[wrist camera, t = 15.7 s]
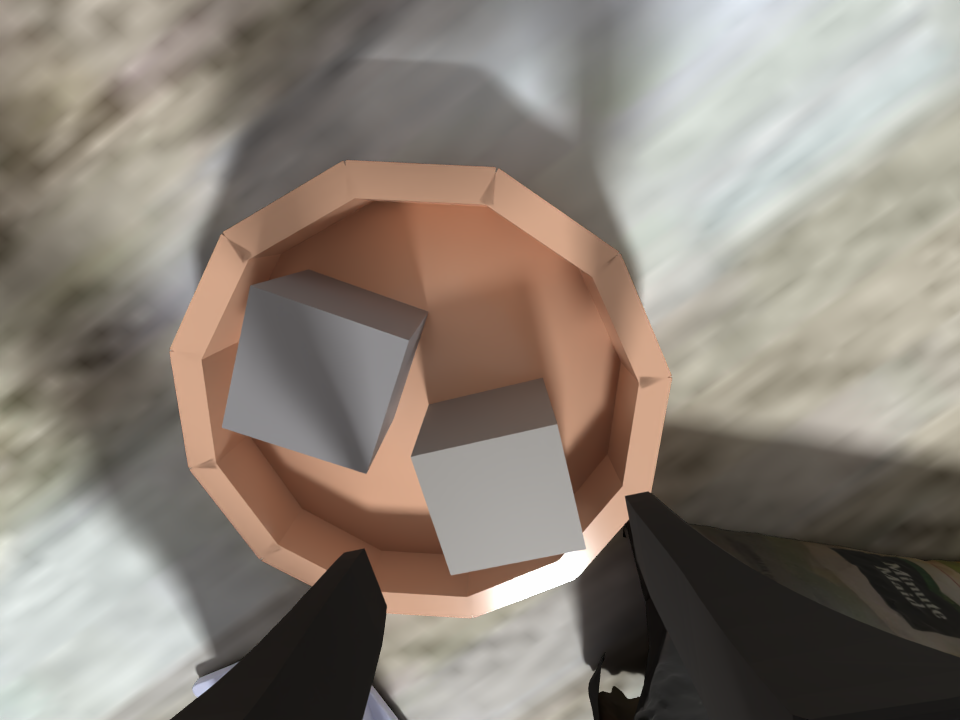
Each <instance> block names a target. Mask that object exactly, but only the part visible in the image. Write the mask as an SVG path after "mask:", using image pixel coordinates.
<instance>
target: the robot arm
mask: <svg viewBox="0 0 960 720" xmlns="http://www.w3.org/2000/svg"><path fill="white" fill-rule="evenodd" d="M625 500H626V506H627V511H628V516H629V522H630V527H631V532H632V537H633V543H634V548H635V553H636V559H637V562H638V565H639V567H640V570H641V573H642V575H643V578H644V581H645V584H646V586H647V589H648V592H649V594H650V597H651V599H652V601H653V603H654V605H655V607H656V609H657V611H658V613H659V615H660V617H661V619H662V621H663V623H664V625H665V627H666V629H667V631H668V633H669V635H670V637H671V639H672V641H673V643H674V645H675V647H676V649H677V651H678V653H679V655H680V657H681V659H682V661H683V663H684V665H685V667H686V669H687V671H688V673H689V675H690V677H691V679H692V681H693V683H694V685H695V688H696V690H697V692H698V694H699V696H700V699H701V701H702V703H703V705H704V707H705V710H706V712H707V715H708V717H709V720H960V657H957V656H954V655H951V654H948V653H945V652H942V651H939V650H936V649H934V648H931V647H928V646H925V645H922V644H919V643H916V642H913V641H910V640H907V639H904V638H901V637H898V636H896V635H893V634H890V633H888V632H885V631H883V630H880V629H878V628H875V627H873V626H870V625H868V624H865V623H863V622H860V621H858V620H855V619H853V618H851V617H848V616H846V615H844V614H841V613H839V612H837V611H835V610H832V609H830V608H828V607H826V606H824V605H822V604H819V603H817V602H815V601H813V600H811V599H809V598H807V597H805V596H803V595H801V594H798V593H796V592H795V591H793V590H791V589H789V588H787V587H785V586H783V585H781V584H779V583H777V582H776V581H774V580H772V579H770V578H768V577H767V576H765V575H763V574H761V573H760V572H758V571H756V570H754V569H753V568H751V567H750V566H748V565H746V564H745V563H743V562H742V561H740V560H738V559H737V558H735V557H734V556H732V555H731V554H729V553H728V552H726V551H725V550H723V549H722V548H720V547H719V546H718V545H716V544H715V543H713V542H712V541H711V540H709V539H708V538H706V537H705V536H704V535H702V534H701V533H700V532H698V531H697V530H696V529H694V528H693V527H692V526H690V525H689V524H688V523H687V522H685V521H684V520H683V519H682V518H680V517H679V516H678V515H677V514H675V513H674V512H673V511H672V510H671V509H669V508H668V507H667V506H666V505H665V504H663V503H662V502H661V501H660V500H659V499H658V498H657V497H655V496H654V495H653V494H652V493H650V492H649V491H647V492H642V493H637V494H632V495H627V496H625ZM386 612H387V604H386V602H385V599H384V597H383V594H382V592H381V589H380V587H379V584H378V581H377V579H376V576H375V574H374V571H373V569H372V566H371V563H370V561H369V558H368V556H367V553H366V551H365V548H364V549H359V550H354V551H349V552H344V553H343V554H342V555H341V556H340V557H339V558H338V559H337V560H336V561H335V562H334V563H333V564H332V565H331V566H330V567H329V568H328V570H327V571H326V572H325V573H324V574H323V575H322V576H321V577H320V578H319V580H318V581H317V582H316V583H315V584H314V585H313V586H312V587H311V588H310V590H309V591H308V592H307V593H306V594H305V595H304V596H303V597H302V598H301V599H300V601H299V602H298V603H297V604H296V605H295V606H294V607H293V608H292V609H291V610H290V612H289V613H288V614H287V615H286V616H285V617H284V618H283V619H282V620H281V621H280V622H279V623H278V624H277V625H276V626H275V627H274V628H273V629H272V630H271V631H270V632H269V633H268V634H267V635H266V636H265V637H264V638H263V639H262V640H261V641H260V642H259V643H258V644H257V645H256V646H255V647H254V648H253V649H252V650H251V651H250V652H249V653H248V654H247V655H246V656H245V657H244V658H243V659H242V660H241V661H240V662H237V663H235V664H232V665H230V666H228V667H225V668H223V669H220V670H218V671H215V672H213V673H210V674H208V675H205V676H203V677H200V678H199V679H197V681H196V682H195V684H194V686H193V688H192V689H193V693H194V694H195V695H196V696H197V697H198V698H196V699H195V700H194V701H193V702H191V703H190V704H189V705H188V706H187V707H185V708H184V709H183V710H182V711H180V712H179V713H178V714H177V715H175V716H174V717H173V718H172V719H170V720H398V718H397V717H396V716H395V714H394V713H393V712H392V710H391V709H390V708H389V707H388V705H387V704H386V703H385V701H384V700H383V699H382V697H381V696H380V695H379V694H378V692H377V691H376V690H375V688H374V687H373V686H372V682H373V679H374V675H375V671H376V667H377V663H378V659H379V655H380V651H381V647H382V642H383V635H384V628H385V620H386Z"/></svg>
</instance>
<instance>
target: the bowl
mask: <svg viewBox="0 0 960 720" xmlns="http://www.w3.org/2000/svg"><path fill="white" fill-rule="evenodd" d="M495 172H496V167H483V166H462V165H441V164H420V163H399V162H378V161H357V160H346V162H345V161H341V162H340V163H338V164H336V165H335V166H333V167H331V168H330V169H328V170H326V171H325V172H323V173H321V174H319V175H318V176H316V177H314V178H313V179H311V180H309V181H308V182H306V183H304V184H303V185H301V186H299V187H298V188H296V189H294V190H293V191H291V192H289V193H288V194H286V195H284V196H283V197H281V198H279V199H278V200H276V201H274V202H273V203H271V204H269V205H267V206H266V207H264V208H262V209H261V210H259V211H257V212H256V213H254V214H252V215H251V216H249V217H247V218H246V219H244V220H242V221H241V222H239V223H237V224H236V225H234V226H232V227H231V228H229V229H227V230H226V231H224V232H223V233H224V234H221V235H220V238H219V240H218V242H217V244H216V247H215V249H214V251H213V253H212V255H211V258H210V260H209V262H208V264H207V267H206V269H205V271H204V273H203V276H202V278H201V280H200V282H199V285H198V287H197V289H196V291H195V293H194V296H193V298H192V300H191V302H190V305H189V307H188V309H187V311H186V314H185V316H184V318H183V320H182V323H181V325H180V327H179V329H178V332H177V334H176V336H175V338H174V340H173V343H172V345H171V347H170V349H171V350H172V351H169V352H170V358H171V364H172V370H173V376H174V383H175V389H176V395H177V401H178V407H179V413H180V420H181V426H182V432H183V438H184V444H185V450H186V456H187V463H188V467H189V468H191V469H189V470H190V471H191V472H192V474H193V475H194V476H195V478H196V479H197V480H198V481H199V483H200V484H201V485H202V487H203V488H204V489H205V490H206V492H207V493H208V494H209V495H210V497H211V498H212V499H213V501H214V502H215V503H216V504H217V506H218V507H219V508H220V510H221V511H222V512H223V513H224V515H225V516H226V517H227V518H228V520H229V521H230V522H231V524H232V525H233V526H234V527H235V529H236V530H237V531H238V533H239V534H240V535H241V536H242V538H243V539H244V540H245V541H246V543H247V544H248V545H249V547H250V548H251V549H252V550H253V552H254V553H255V554H256V556H257V557H258V558H259V559H261V558H263V559H262V560H261V561H263V562H265V563H267V564H269V565H271V566H273V567H275V568H276V569H278V570H280V571H282V572H284V573H286V574H288V575H290V576H292V577H294V578H296V579H298V580H300V581H302V582H304V583H306V584H308V585H310V586H313V585H314V584H315V583H316V582H317V581H318V580H319V578H320V577H321V576H322V575H323V574H324V573H325V572H326V571H327V570H328V568H329V567H330V566H331V565H332V564H333V563H334V562H335V561H336V560H337V559H338V558H339V557H340V556H341V555H342V554H343V553H344V552H349V551H354V550H359V549H364V548H365V551H366V553H367V556H368V558H369V561H370V563H371V566H372V569H373V571H374V574H375V576H376V579H377V581H378V584H379V587H380V589H381V592H382V594H383V597H384V599H385V602H386V604H387V612H386V613H391V614H408V615H424V616H441V617H458V618H472V616H473V617H474V618H475V617H478V616H481V615H483V614H486V613H488V612H491V611H494V610H496V609H499V608H501V607H504V606H507V605H509V604H512V603H514V602H517V601H520V600H522V599H525V598H527V597H530V596H533V595H535V594H538V593H540V592H543V591H546V590H548V589H551V588H553V587H556V586H559V585H561V584H564V583H566V582H569V581H572V580H574V579H575V577H576V578H577V577H578V576H579V575H580V574H581V573H582V572H583V571H584V569H585V568H586V567H587V566H588V565H589V564H590V563H591V562H592V560H593V559H594V558H595V557H596V556H597V555H598V554H599V552H600V551H601V550H602V549H603V548H604V547H605V546H606V545H607V543H608V542H609V541H610V540H611V539H612V538H613V537H614V536H615V534H616V533H617V532H618V531H619V530H620V529H621V528H622V527H623V525H624V524H625V523H626V522H627V521H628V520H629V516H628V511H627V506H626V500H625V496H627V495H632V494H637V493H642V492H647V491H649V492H650V493H651V490H652V485H653V480H654V474H655V469H656V463H657V458H658V452H659V447H660V441H661V436H662V430H663V425H664V419H665V414H666V408H667V403H668V398H669V392H670V387H671V381H672V378H671V377H670V376H672V375H671V373H670V370H669V368H668V365H667V363H666V361H665V358H664V356H663V353H662V351H661V349H660V346H659V344H658V341H657V339H656V337H655V334H654V332H653V329H652V327H651V325H650V322H649V320H648V318H647V315H646V313H645V310H644V308H643V306H642V303H641V301H640V298H639V296H638V294H637V291H636V289H635V286H634V284H633V282H632V279H631V277H630V274H629V272H628V270H627V267H626V265H625V263H624V260H623V258H622V255H621V254H619V251H617V250H616V249H614V248H613V247H611V246H610V245H609V244H607V243H606V242H604V241H603V240H601V239H600V238H598V237H597V236H596V235H594V234H593V233H591V232H590V231H588V230H587V229H586V228H584V227H583V226H581V225H580V224H578V223H577V222H575V221H574V220H573V219H571V218H570V217H568V216H567V215H565V214H564V213H563V212H561V211H560V210H558V209H557V208H555V207H554V206H552V205H551V204H550V203H548V202H547V201H545V200H544V199H542V198H541V197H539V196H538V195H537V194H535V193H534V192H532V191H531V190H529V189H528V188H527V187H525V186H524V185H522V184H521V183H519V182H518V181H516V180H515V179H514V178H512V177H511V176H509V175H508V174H506V173H505V172H504V171H502V170H501V169H499V168H498V170H497V172H496V173H495ZM308 269H309V270H312V271H315V272H317V273H320V274H323V275H326V276H329V277H332V278H334V279H337V280H340V281H343V282H346V283H349V284H351V285H354V286H357V287H360V288H363V289H366V290H368V291H371V292H374V293H377V294H380V295H383V296H385V297H388V298H391V299H394V300H397V301H400V302H402V303H405V304H408V305H411V306H414V307H417V308H419V309H422V310H425V311H428V315H427V318H426V322H425V325H424V328H423V331H422V334H421V337H420V340H419V343H418V346H417V349H416V352H415V355H414V358H413V361H412V364H411V368H410V371H409V374H408V377H407V380H406V383H405V386H404V389H403V392H402V395H401V398H400V401H399V404H398V407H397V411H396V414H395V417H394V419H393V421H392V423H391V425H390V427H389V429H388V431H387V433H386V435H385V437H384V440H383V442H382V444H381V446H380V448H379V450H378V452H377V454H376V456H375V458H374V460H373V462H372V464H371V466H370V468H369V470H368V472H367V474H364V473H361V472H358V471H355V470H352V469H349V468H346V467H343V466H340V465H336V464H333V463H330V462H327V461H324V460H321V459H318V458H315V457H312V456H308V455H305V454H302V453H299V452H296V451H293V450H290V449H287V448H283V447H280V446H277V445H274V444H271V443H268V442H265V441H262V440H259V439H255V438H252V437H249V436H246V435H243V434H240V433H237V432H234V431H231V430H227V429H224V428H222V424H223V419H224V414H225V409H226V404H227V399H228V394H229V389H230V384H231V379H232V374H233V369H234V364H235V359H236V354H237V349H238V344H239V339H240V334H241V329H242V324H243V319H244V314H245V309H246V304H247V299H248V294H249V289H250V285H254V284H257V283H261V282H265V281H268V280H272V279H275V278H279V277H283V276H286V275H290V274H293V273H297V272H301V271H304V270H308ZM539 378H543V380H544V383H545V386H546V390H547V393H548V396H549V399H550V402H551V405H552V409H553V412H554V415H555V418H556V421H557V425H558V429H559V433H560V438H561V442H562V446H563V451H564V455H565V459H566V464H567V468H568V472H569V476H570V481H571V485H572V489H573V494H574V498H575V502H576V507H577V511H578V515H579V520H580V524H581V528H582V533H583V537H584V541H585V546H586V549H584V550H579V551H574V552H569V553H564V554H559V555H554V556H548V557H543V558H538V559H533V560H528V561H523V562H518V563H513V564H507V565H502V566H497V567H492V568H487V569H482V570H477V571H471V572H466V573H461V574H456V575H451V574H450V571H449V568H448V565H447V563H446V560H445V557H444V554H443V551H442V548H441V545H440V542H439V539H438V536H437V533H436V530H435V527H434V524H433V521H432V518H431V516H430V513H429V510H428V507H427V504H426V501H425V498H424V495H423V492H422V489H421V486H420V483H419V480H418V477H417V474H416V472H415V469H414V466H413V463H412V460H411V454H412V451H413V448H414V445H415V443H416V440H417V437H418V434H419V431H420V428H421V425H422V422H423V419H424V417H425V414H426V411H427V408H428V405H429V404H433V403H437V402H441V401H445V400H450V399H454V398H458V397H463V396H467V395H471V394H475V393H480V392H484V391H488V390H492V389H497V388H501V387H505V386H510V385H514V384H518V383H522V382H527V381H531V380H535V379H539Z"/></svg>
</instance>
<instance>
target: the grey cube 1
mask: <svg viewBox="0 0 960 720" xmlns="http://www.w3.org/2000/svg"><path fill="white" fill-rule="evenodd" d="M427 315H428V311H425V310H422V309H419V308H417V307H414V306H411V305H408V304H405V303H402V302H400V301H397V300H394V299H391V298H388V297H385V296H383V295H380V294H377V293H374V292H371V291H368V290H366V289H363V288H360V287H357V286H354V285H351V284H349V283H346V282H343V281H340V280H337V279H334V278H332V277H329V276H326V275H323V274H320V273H317V272H315V271H312V270H309V269H308V270H304V271H301V272H297V273H293V274H290V275H286V276H283V277H279V278H275V279H272V280H268V281H265V282H261V283H257V284H254V285H250V289H249V294H248V299H247V304H246V309H245V314H244V319H243V324H242V329H241V334H240V339H239V344H238V349H237V354H236V359H235V364H234V369H233V374H232V379H231V384H230V389H229V394H228V399H227V404H226V409H225V414H224V419H223V424H222V428H224V429H227V430H231V431H234V432H237V433H240V434H243V435H246V436H249V437H252V438H255V439H259V440H262V441H265V442H268V443H271V444H274V445H277V446H280V447H283V448H287V449H290V450H293V451H296V452H299V453H302V454H305V455H308V456H312V457H315V458H318V459H321V460H324V461H327V462H330V463H333V464H336V465H340V466H343V467H346V468H349V469H352V470H355V471H358V472H361V473H364V474H367V472H368V470H369V468H370V466H371V464H372V462H373V460H374V458H375V456H376V454H377V452H378V450H379V448H380V446H381V444H382V442H383V440H384V437H385V435H386V433H387V431H388V429H389V427H390V425H391V423H392V421H393V419H394V417H395V414H396V411H397V407H398V404H399V401H400V398H401V395H402V392H403V389H404V386H405V383H406V380H407V377H408V374H409V371H410V368H411V364H412V361H413V358H414V355H415V352H416V349H417V346H418V343H419V340H420V337H421V334H422V331H423V328H424V325H425V322H426V318H427Z"/></svg>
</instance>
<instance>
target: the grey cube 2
mask: <svg viewBox="0 0 960 720" xmlns="http://www.w3.org/2000/svg"><path fill="white" fill-rule="evenodd" d="M411 460H412V463H413V466H414V469H415V472H416V474H417V477H418V480H419V483H420V486H421V489H422V492H423V495H424V498H425V501H426V504H427V507H428V510H429V513H430V516H431V518H432V521H433V524H434V527H435V530H436V533H437V536H438V539H439V542H440V545H441V548H442V551H443V554H444V557H445V560H446V563H447V565H448V568H449V571H450V574H451V575H456V574H461V573H466V572H471V571H477V570H482V569H487V568H492V567H497V566H502V565H507V564H513V563H518V562H523V561H528V560H533V559H538V558H543V557H548V556H554V555H559V554H564V553H569V552H574V551H579V550H584V549H586V546H585V541H584V537H583V533H582V528H581V524H580V520H579V515H578V511H577V507H576V502H575V498H574V494H573V489H572V485H571V481H570V476H569V472H568V468H567V464H566V459H565V455H564V451H563V446H562V442H561V438H560V433H559V429H558V425H557V421H556V418H555V415H554V412H553V409H552V405H551V402H550V399H549V396H548V393H547V390H546V386H545V383H544V380H543V378H539V379H535V380H531V381H527V382H522V383H518V384H514V385H510V386H505V387H501V388H497V389H492V390H488V391H484V392H480V393H475V394H471V395H467V396H463V397H458V398H454V399H450V400H445V401H441V402H437V403H433V404H429V405H428V408H427V411H426V414H425V417H424V419H423V422H422V425H421V428H420V431H419V434H418V437H417V440H416V443H415V445H414V448H413V451H412V454H411Z"/></svg>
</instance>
